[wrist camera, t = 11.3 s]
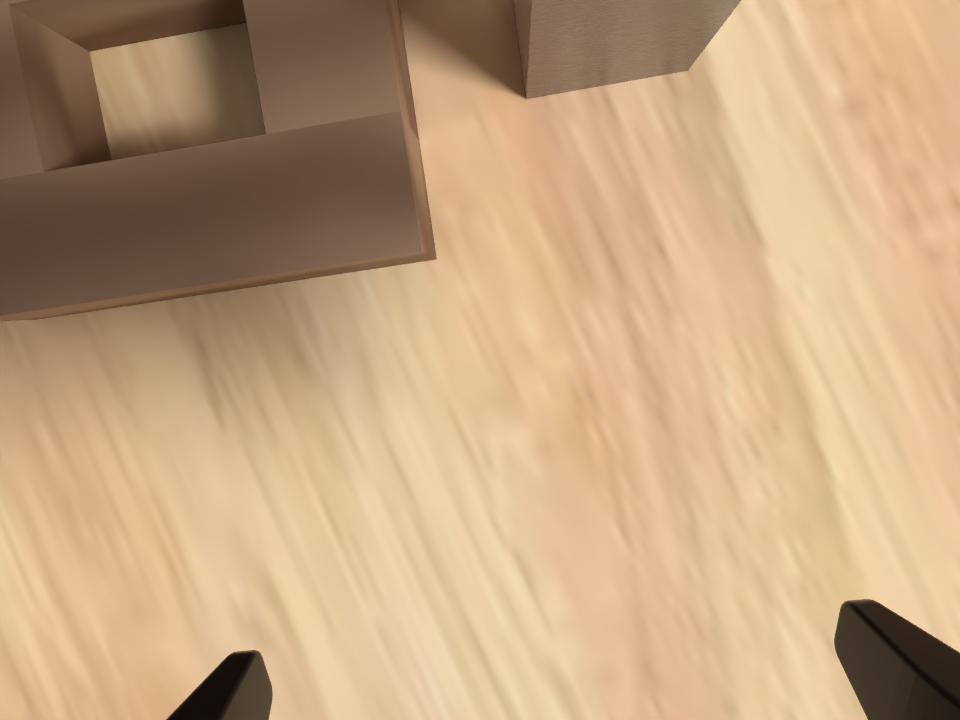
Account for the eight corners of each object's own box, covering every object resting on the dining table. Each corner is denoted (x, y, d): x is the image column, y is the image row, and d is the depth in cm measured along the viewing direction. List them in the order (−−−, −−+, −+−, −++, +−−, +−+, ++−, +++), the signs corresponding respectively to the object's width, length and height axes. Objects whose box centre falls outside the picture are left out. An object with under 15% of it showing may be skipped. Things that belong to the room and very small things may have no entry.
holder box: (436, 259, 19) (421, 251, 16) (36, 319, 20) (-49, 323, 17) (378, -135, 18) (350, -224, 15) (-44, -49, 19) (-151, -115, 16)
